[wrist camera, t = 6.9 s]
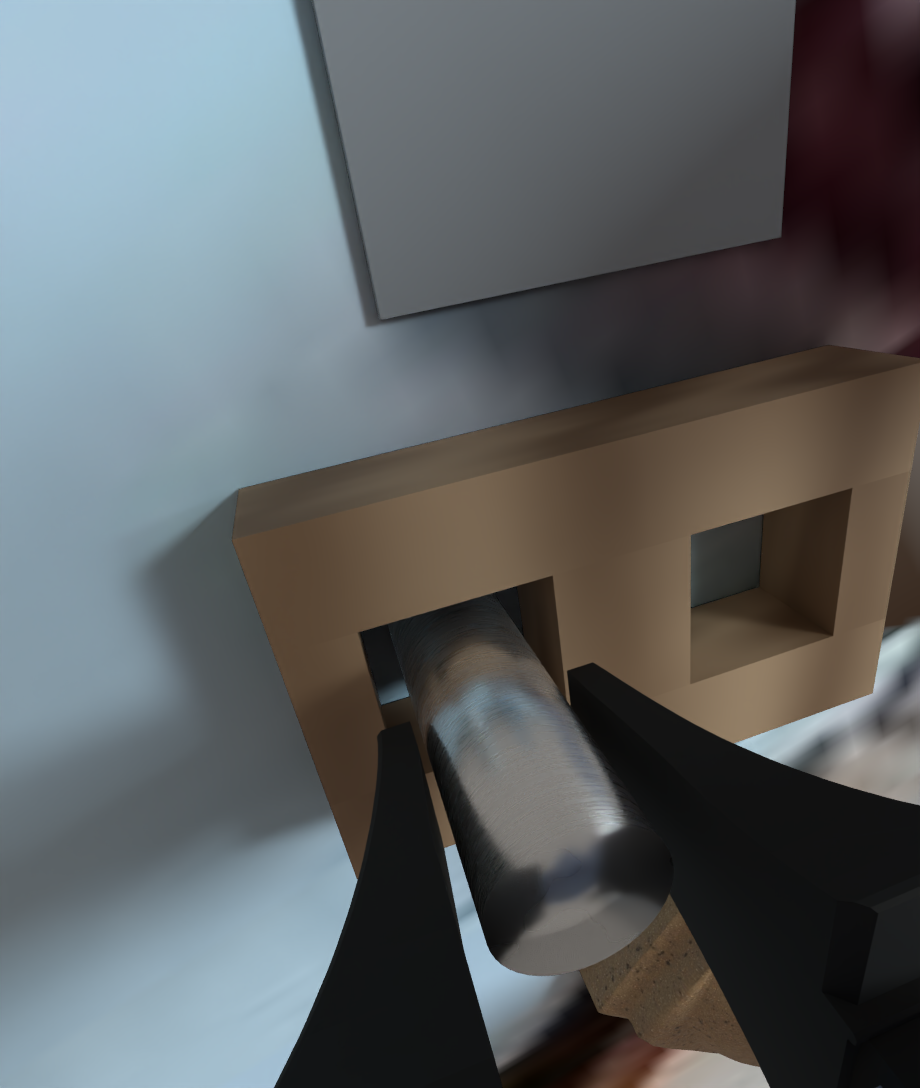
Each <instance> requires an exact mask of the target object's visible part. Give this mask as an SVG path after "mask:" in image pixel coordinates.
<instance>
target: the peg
mask: <svg viewBox="0 0 920 1088" xmlns="http://www.w3.org/2000/svg"><path fill="white" fill-rule="evenodd" d="M388 627H389V631H390V635H391V638H392V641H393V644H394V647H395V651H396V654H397V657H398V660H399V663H400V667H401V670H402V673H403V676H404V679H405V683H406V686H407V689H408V692H409V696H410V699H411V702H412V705H413V708H414V712H415V715H416V718H417V721H418V724H419V728H420V731H421V734H422V737H423V741H424V744H425V747H426V750H427V753H428V757H429V760H430V763H431V766H432V769H433V773H434V776H435V779H436V782H437V786H438V789H439V792H440V795H441V798H442V802H443V805H444V808H445V811H446V814H447V818H448V821H449V824H450V827H451V830H452V834H453V837H454V840H455V843H456V847H457V850H458V853H459V856H460V859H461V863H462V866H463V869H464V872H465V875H466V879H467V882H468V885H469V888H470V892H471V895H472V898H473V901H474V904H475V908H476V911H477V914H478V917H479V920H480V924H481V927H482V930H483V933H484V937H485V940H486V943H487V946H488V948H489V950H490V952H491V954H492V955H493V956H494V958H495V959H496V960H497V961H498V962H499V963H500V964H502V965H503V966H505V967H506V968H508V969H510V970H513V971H515V972H518V973H522V974H526V975H534V976H551V975H560V974H565V973H569V972H573V971H577V970H580V969H583V968H586V967H588V966H591V965H594V964H596V963H598V962H600V961H602V960H604V959H606V958H608V957H610V956H611V955H613V954H615V953H616V952H618V951H619V950H621V949H622V948H624V947H625V946H627V945H628V944H629V943H631V942H632V941H633V940H634V939H635V938H637V937H638V936H639V935H640V934H641V933H642V932H643V931H644V930H645V929H646V928H647V927H648V926H649V925H650V924H651V922H652V921H653V920H654V919H655V917H656V916H657V915H658V913H659V912H660V910H661V909H662V907H663V905H664V904H665V902H666V900H667V897H668V895H669V893H670V890H671V886H672V883H673V876H674V865H673V860H672V856H671V854H670V852H669V849H668V848H667V847H666V845H665V844H664V842H663V841H662V839H661V838H660V836H659V835H658V833H657V832H656V830H655V829H654V828H653V826H652V825H651V823H650V822H649V820H648V819H647V817H646V816H645V814H644V813H643V811H642V810H641V808H640V807H639V806H638V804H637V803H636V801H635V800H634V798H633V797H632V795H631V794H630V792H629V791H628V789H627V788H626V787H625V785H624V784H623V782H622V781H621V779H620V778H619V776H618V775H617V773H616V772H615V770H614V769H613V767H612V766H611V765H610V763H609V762H608V760H607V759H606V757H605V756H604V754H603V753H602V751H601V750H600V748H599V747H598V746H597V744H596V743H595V741H594V740H593V738H592V737H591V735H590V734H589V732H588V731H587V729H586V728H585V726H584V725H583V724H582V722H581V721H580V719H579V718H578V716H577V715H576V713H575V712H574V710H573V709H572V707H571V706H570V705H569V703H568V702H567V700H566V699H565V697H564V696H563V694H562V693H561V691H560V690H559V688H558V687H557V685H556V684H555V683H554V681H553V680H552V678H551V677H550V675H549V674H548V672H547V671H546V669H545V668H544V666H543V665H542V664H541V662H540V661H539V659H538V658H537V656H536V655H535V653H534V652H533V650H532V649H531V647H530V646H529V644H528V643H527V642H526V640H525V639H524V637H523V636H522V634H521V633H520V631H519V630H518V628H517V627H516V625H515V624H514V623H513V621H512V620H511V618H510V617H509V615H508V614H507V612H506V611H505V609H504V608H503V606H502V605H501V603H500V602H499V601H498V599H497V598H496V596H495V595H494V593H491V594H488V595H484V596H481V597H477V598H474V599H470V600H467V601H464V602H460V603H457V604H453V605H450V606H447V607H443V608H440V609H436V610H433V611H429V612H426V613H423V614H419V615H416V616H412V617H409V618H406V619H402V620H399V621H395V622H392V623H388Z"/></svg>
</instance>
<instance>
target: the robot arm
mask: <svg viewBox="0 0 920 1088" xmlns="http://www.w3.org/2000/svg"><path fill="white" fill-rule="evenodd" d="M567 677H568V686H569V695H570V704H571V707H572V709H573V710H574V712H575V713H576V715H577V716H578V718H579V719H580V721H581V722H582V724H583V725H584V726H585V728H586V729H587V731H588V732H589V734H590V735H591V737H592V738H593V740H594V741H595V743H596V744H597V746H598V747H599V748H600V750H601V751H602V753H603V754H604V756H605V757H606V759H607V760H608V762H609V763H610V765H611V766H612V767H613V769H614V770H615V772H616V773H617V775H618V776H619V778H620V779H621V781H622V782H623V784H624V785H625V787H626V788H627V789H628V791H629V792H630V794H631V795H632V797H633V798H634V800H635V801H636V803H637V804H638V806H639V807H640V808H641V810H642V811H643V813H644V814H645V816H646V817H647V819H648V820H649V822H650V823H651V825H652V826H653V828H654V829H655V830H656V832H657V833H658V835H659V836H660V838H661V839H662V841H663V842H664V844H665V845H666V847H667V848H668V849H669V852H670V854H671V856H672V860H673V865H674V876H673V883H672V886H671V890H670V893H669V894H670V896H671V897H672V899H673V901H674V903H675V905H676V907H677V908H678V910H679V912H680V914H681V916H682V917H683V919H684V921H685V923H686V925H687V926H688V928H689V930H690V932H691V934H692V936H693V937H694V939H695V941H696V943H697V945H698V947H699V949H700V950H701V952H702V954H703V956H704V958H705V960H706V962H707V964H708V966H709V967H710V969H711V971H712V973H713V975H714V977H715V979H716V981H717V983H718V984H719V986H720V988H721V990H722V992H723V994H724V996H725V998H726V1000H727V1002H728V1004H729V1006H730V1008H731V1010H732V1012H733V1014H734V1016H735V1018H736V1020H737V1022H738V1024H739V1025H740V1027H741V1029H742V1031H743V1033H744V1035H745V1037H746V1039H747V1041H748V1043H749V1045H750V1047H751V1049H752V1051H753V1053H754V1055H755V1057H756V1059H757V1061H758V1063H759V1066H760V1068H761V1070H762V1072H763V1074H764V1076H765V1078H766V1080H767V1082H768V1084H769V1086H770V1088H920V805H915V804H911V803H906V802H902V801H898V800H894V799H890V798H886V797H882V796H879V795H875V794H872V793H868V792H865V791H861V790H858V789H854V788H851V787H847V786H844V785H841V784H838V783H835V782H831V781H828V780H825V779H822V778H819V777H817V776H814V775H811V774H808V773H805V772H802V771H800V770H797V769H794V768H791V767H788V766H786V765H783V764H781V763H778V762H775V761H773V760H770V759H768V758H766V757H763V756H761V755H759V754H756V753H754V752H752V751H749V750H747V749H745V748H742V747H740V746H738V745H736V744H733V743H731V742H729V741H727V740H725V739H723V738H721V737H719V736H717V735H715V734H713V733H711V732H709V731H707V730H705V729H703V728H701V727H699V726H697V725H695V724H694V723H692V722H690V721H688V720H686V719H685V718H683V717H681V716H679V715H678V714H676V713H674V712H672V711H671V710H669V709H667V708H666V707H664V706H662V705H660V704H659V703H657V702H655V701H654V700H652V699H650V698H649V697H647V696H645V695H644V694H642V693H641V692H639V691H638V690H636V689H634V688H633V687H631V686H630V685H628V684H626V683H625V682H623V681H622V680H620V679H619V678H617V677H616V676H614V675H612V674H611V673H609V672H608V671H606V670H605V669H603V668H601V667H600V666H598V665H597V664H595V663H593V662H592V663H589V664H586V665H583V666H580V667H577V668H574V669H570V670H567ZM377 742H378V768H377V780H376V789H375V796H374V803H373V810H372V817H371V823H370V828H369V833H368V838H367V842H366V847H365V852H364V857H363V861H362V865H361V869H360V873H359V877H358V881H357V884H356V888H355V891H354V895H353V898H352V902H351V905H350V908H349V912H348V915H347V918H346V921H345V923H344V926H343V929H342V932H341V935H340V938H339V941H338V944H337V947H336V950H335V952H334V955H333V958H332V961H331V963H330V966H329V968H328V971H327V973H326V976H325V978H324V980H323V983H322V985H321V988H320V990H319V992H318V995H317V997H316V999H315V1002H314V1004H313V1007H312V1009H311V1011H310V1014H309V1016H308V1018H307V1021H306V1023H305V1025H304V1027H303V1030H302V1032H301V1034H300V1036H299V1038H298V1040H297V1042H296V1044H295V1046H294V1048H293V1050H292V1052H291V1054H290V1056H289V1058H288V1060H287V1063H286V1065H285V1067H284V1069H283V1071H282V1073H281V1075H280V1077H279V1079H278V1081H277V1083H276V1085H275V1087H274V1088H503V1087H502V1084H501V1080H500V1077H499V1073H498V1070H497V1066H496V1063H495V1059H494V1055H493V1052H492V1048H491V1045H490V1041H489V1038H488V1034H487V1031H486V1027H485V1024H484V1020H483V1017H482V1013H481V1010H480V1006H479V1003H478V999H477V995H476V992H475V988H474V985H473V981H472V978H471V974H470V971H469V967H468V964H467V960H466V957H465V953H464V949H463V944H462V939H461V934H460V929H459V923H458V918H457V913H456V908H455V903H454V898H453V892H452V887H451V882H450V877H449V872H448V867H447V861H446V856H445V851H444V846H443V841H442V836H441V833H440V829H439V825H438V821H437V817H436V814H435V810H434V806H433V802H432V798H431V795H430V791H429V787H428V783H427V779H426V776H425V772H424V768H423V764H422V760H421V756H420V753H419V749H418V745H417V742H416V739H415V736H414V733H413V729H412V726H411V723H410V721H409V722H406V723H403V724H400V725H396V726H393V727H390V728H387V729H384V730H381V731H380V733H379V734H378V736H377Z"/></svg>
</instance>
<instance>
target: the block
mask: <svg viewBox="0 0 920 1088" xmlns="http://www.w3.org/2000/svg"><path fill="white" fill-rule="evenodd" d="M919 423H920V358H913V357H907V356H900V355H893V354H886V353H880V352H873V351H866V350H860V349H853V348H846V347H839V346H833V345H826V346H822V347H818V348H814V349H810V350H806V351H802V352H798V353H793V354H789V355H785V356H781V357H777V358H773V359H769V360H765V361H761V362H757V363H753V364H748V365H744V366H740V367H736V368H732V369H728V370H724V371H720V372H716V373H712V374H707V375H703V376H699V377H695V378H691V379H687V380H683V381H679V382H675V383H671V384H667V385H662V386H658V387H654V388H650V389H646V390H642V391H638V392H634V393H630V394H626V395H622V396H617V397H613V398H609V399H605V400H601V401H597V402H593V403H589V404H585V405H581V406H577V407H572V408H568V409H564V410H560V411H556V412H552V413H548V414H544V415H540V416H536V417H532V418H527V419H523V420H519V421H515V422H511V423H507V424H503V425H499V426H495V427H491V428H486V429H482V430H478V431H474V432H470V433H466V434H462V435H458V436H454V437H450V438H446V439H441V440H437V441H433V442H429V443H425V444H421V445H417V446H413V447H409V448H405V449H401V450H396V451H392V452H388V453H384V454H380V455H376V456H372V457H368V458H364V459H360V460H356V461H351V462H347V463H343V464H339V465H335V466H331V467H327V468H323V469H319V470H315V471H310V472H306V473H302V474H298V475H294V476H290V477H286V478H282V479H278V480H274V481H270V482H265V483H261V484H257V485H253V486H249V487H245V488H241V489H239V492H238V499H237V506H236V513H235V520H234V527H233V534H232V542H233V545H234V548H235V550H236V553H237V556H238V558H239V561H240V564H241V567H242V569H243V572H244V575H245V577H246V580H247V583H248V586H249V588H250V591H251V594H252V596H253V599H254V602H255V604H256V607H257V610H258V613H259V615H260V618H261V621H262V623H263V626H264V629H265V631H266V634H267V637H268V640H269V642H270V645H271V648H272V650H273V653H274V656H275V659H276V661H277V664H278V667H279V669H280V672H281V675H282V677H283V680H284V683H285V686H286V688H287V691H288V694H289V696H290V699H291V702H292V704H293V707H294V710H295V713H296V715H297V718H298V721H299V723H300V726H301V729H302V731H303V734H304V737H305V740H306V742H307V745H308V748H309V750H310V753H311V756H312V759H313V761H314V764H315V767H316V769H317V772H318V775H319V777H320V780H321V783H322V786H323V788H324V791H325V794H326V796H327V799H328V802H329V804H330V807H331V810H332V813H333V815H334V818H335V821H336V823H337V826H338V829H339V831H340V834H341V837H342V840H343V842H344V845H345V848H346V850H347V853H348V856H349V859H350V861H351V864H352V867H353V869H354V872H355V875H356V877H357V879H358V877H359V873H360V869H361V865H362V861H363V857H364V852H365V847H366V842H367V838H368V833H369V828H370V823H371V817H372V810H373V803H374V796H375V789H376V780H377V768H378V742H377V736H378V734H379V733H380V731H381V730H384V729H387V728H390V727H393V726H396V725H400V724H403V723H406V722H409V721H410V723H411V726H412V729H413V733H414V736H415V739H416V742H417V745H418V749H419V753H420V756H421V760H422V764H423V768H424V772H425V776H426V779H427V783H428V787H429V791H430V795H431V798H432V802H433V806H434V810H435V814H436V817H437V821H438V825H439V829H440V833H441V836H442V841H443V846H444V848H445V847H448V846H451V845H454V844H456V843H455V840H454V837H453V834H452V830H451V827H450V824H449V821H448V818H447V814H446V811H445V808H444V805H443V802H442V798H441V795H440V792H439V789H438V786H437V782H436V779H435V776H434V773H433V769H432V766H431V763H430V760H429V757H428V753H427V750H426V747H425V744H424V741H423V737H422V734H421V731H420V728H419V724H418V721H417V718H416V715H415V712H414V708H413V705H412V702H411V699H410V697H408V698H405V699H402V700H398V701H395V702H392V703H389V704H386V705H383V706H381V702H380V699H379V696H378V692H377V689H376V685H375V682H374V678H373V675H372V671H371V668H370V664H369V661H368V657H367V654H366V650H365V647H364V643H363V640H362V636H361V633H360V632H361V631H365V630H368V629H371V628H375V627H378V626H382V625H385V624H388V623H392V622H395V621H399V620H402V619H406V618H409V617H412V616H416V615H419V614H423V613H426V612H429V611H433V610H436V609H440V608H443V607H447V606H450V605H453V604H457V603H460V602H464V601H467V600H470V599H474V598H477V597H481V596H484V595H488V594H491V593H494V592H498V591H501V590H505V589H508V588H512V587H515V586H517V591H518V598H519V605H520V612H521V619H522V626H523V633H524V639H525V640H526V642H527V643H528V644H529V646H530V647H531V649H532V650H533V652H534V653H535V655H536V656H537V658H538V659H539V661H540V662H541V664H542V665H543V666H544V668H545V669H546V671H547V672H548V674H549V675H550V677H551V678H552V680H553V681H554V683H555V684H556V685H557V687H558V688H559V690H560V691H561V693H562V694H563V696H564V697H565V699H566V700H567V702H568V703H569V705H570V706H571V704H570V695H569V686H568V677H567V670H570V669H574V668H577V667H580V666H583V665H586V664H589V663H592V662H593V663H595V664H597V665H598V666H600V667H601V668H603V669H605V670H606V671H608V672H609V673H611V674H612V675H614V676H616V677H617V678H619V679H620V680H622V681H623V682H625V683H626V684H628V685H630V686H631V687H633V688H634V689H636V690H638V691H639V692H641V693H642V694H644V695H645V696H647V697H649V698H650V699H652V700H654V701H655V702H657V703H659V704H660V705H662V706H664V707H666V708H667V709H669V710H671V711H672V712H674V713H676V714H678V715H679V716H681V717H683V718H685V719H686V720H688V721H690V722H692V723H694V724H695V725H697V726H699V727H701V728H703V729H705V730H707V731H709V732H711V733H713V734H715V735H717V736H719V737H721V738H723V739H725V740H727V741H729V742H731V743H736V742H739V741H742V740H744V739H747V738H750V737H753V736H755V735H758V734H761V733H764V732H766V731H769V730H772V729H775V728H778V727H780V726H783V725H786V724H789V723H791V722H794V721H797V720H800V719H802V718H805V717H808V716H811V715H813V714H816V713H819V712H822V711H825V710H827V709H830V708H833V707H836V706H838V705H841V704H844V703H847V702H849V701H852V700H855V699H858V698H861V697H863V696H866V695H869V694H872V693H873V688H874V682H875V676H876V670H877V665H878V659H879V653H880V647H881V642H882V636H883V630H884V624H885V619H886V613H887V607H888V601H889V595H890V590H891V584H892V578H893V572H894V567H895V560H896V555H897V549H898V544H899V537H900V532H901V526H902V521H903V515H904V509H905V503H906V498H907V492H908V486H909V480H910V474H911V469H912V463H913V457H914V451H915V445H916V440H917V434H918V428H919ZM761 514H764V518H763V535H762V551H761V567H760V583H759V587H757V588H754V589H751V590H748V591H744V592H741V593H738V594H735V595H732V596H729V597H725V598H722V599H719V600H716V601H713V602H710V603H706V604H703V605H700V606H697V607H694V608H691V535H693V534H696V533H700V532H703V531H706V530H710V529H713V528H717V527H720V526H724V525H727V524H730V523H734V522H737V521H741V520H744V519H747V518H751V517H754V516H758V515H761Z"/></svg>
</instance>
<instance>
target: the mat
mask: <svg viewBox="0 0 920 1088" xmlns="http://www.w3.org/2000/svg"><path fill="white" fill-rule="evenodd" d="M311 1H312V5H313V10H314V15H315V20H316V24H317V29H318V34H319V38H320V43H321V48H322V53H323V57H324V62H325V67H326V71H327V76H328V81H329V86H330V90H331V95H332V100H333V104H334V109H335V114H336V119H337V123H338V128H339V133H340V138H341V142H342V147H343V152H344V156H345V161H346V166H347V171H348V175H349V180H350V185H351V189H352V194H353V199H354V204H355V208H356V213H357V218H358V222H359V227H360V232H361V237H362V241H363V246H364V251H365V256H366V260H367V265H368V270H369V274H370V279H371V284H372V289H373V293H374V298H375V303H376V307H377V312H378V317H379V319H380V320H382V319H387V318H392V317H397V316H402V315H406V314H411V313H416V312H421V311H426V310H431V309H436V308H440V307H445V306H450V305H455V304H460V303H465V302H469V301H474V300H479V299H484V298H489V297H494V296H498V295H503V294H508V293H513V292H518V291H523V290H528V289H532V288H537V287H542V286H547V285H552V284H557V283H561V282H566V281H571V280H576V279H581V278H586V277H590V276H595V275H600V274H605V273H610V272H615V271H620V270H624V269H629V268H634V267H639V266H644V265H649V264H653V263H658V262H663V261H668V260H673V259H678V258H682V257H687V256H692V255H697V254H702V253H707V252H711V251H716V250H721V249H726V248H731V247H736V246H741V245H745V244H750V243H755V242H760V241H765V240H770V239H774V238H779V237H781V230H782V214H783V198H784V182H785V165H786V149H787V133H788V117H789V101H790V85H791V69H792V53H793V37H794V21H795V4H796V0H311Z"/></svg>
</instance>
